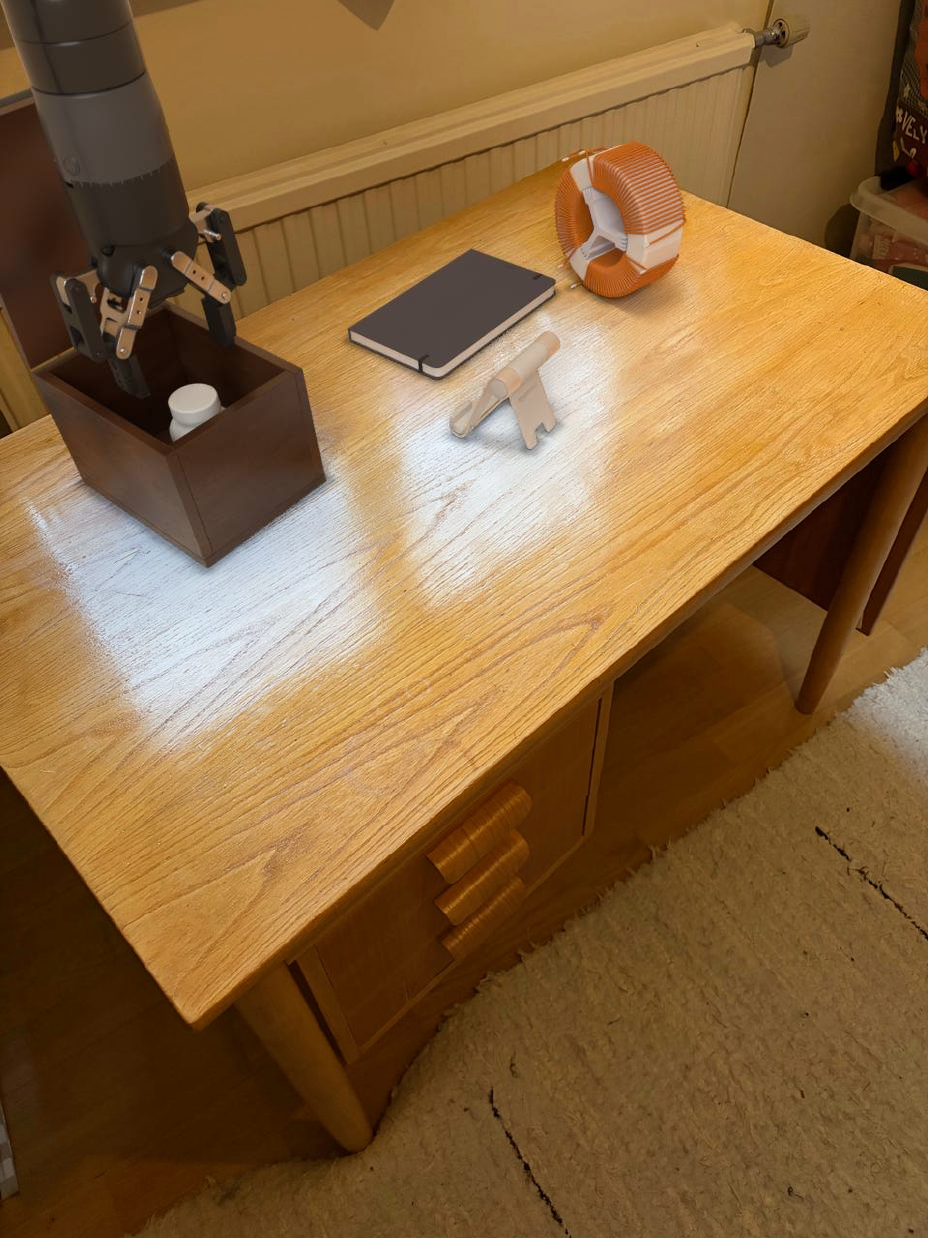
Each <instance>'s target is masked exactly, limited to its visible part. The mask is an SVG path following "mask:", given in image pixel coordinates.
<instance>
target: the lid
mask: <svg viewBox="0 0 928 1238" xmlns="http://www.w3.org/2000/svg"><path fill="white" fill-rule="evenodd" d="M88 257H89V255H88V248H87V245H86V243H85V241H84V239H83V237H82V235H81V233H80V231H79V228H78V226H77V223H76V220H75V218H74V215H73V212H72V210H71V207H70V204H69V201H68V199H67V196H66V193H65V191H64V188H63V185H62V183H61V180H60V177H59V174H58V172H57V169H56V166H55V163H54V161H53V158H52V155H51V153H50V150H49V148H48V145H47V142H46V140H45V137H44V134H43V131H42V128H41V125H40V122H39V118H38V114H37V109H36V105H35V101H34V97H33V93H32V90H31V87H27V88H24V89H20V90H19V91H16V92H13V93H11V94H7V95H5V96H1V97H0V307H1V309H2V311H3V313H4V316H5V319H6V321H7V324H8V326H9V328H10V331H11V334H12V337H13V338H14V342H15V344H16V346H17V348H18V351H19V354H20V356H21V359H22V361H23V364H24V365H25V366H26V367H27V368H28V369H30V370H33V369H35V368H36V367H38V366H40V365H42V364H44V363H46V362H49V361H50V360H51V359H53V358H55V357H57V356H59V355H62V354H63V353H65V352H66V351H69V350H71V349H72V348H74V347H73V345H72V342H71V339H70V336H69V333H68V330H67V328H66V325H65V322H64V319H63V316H62V313H61V310H60V308H59V305H58V302H57V299H56V296H55V293H54V290H53V288H52V285H51V282H50V277H51V275H52V273H53V272H54V271H57V270H60V271H63V272H65V273H67V274H68V273H71V272H74V271H76V270H79V269H81V268H84V267H86V266H88ZM104 288H105V287H104V286H103V285H101V284H100V283H98V284H97V286H96V288H95V297H96V298H97V301H96V302H95V303H92V305H93V308H94V311H95V314H96V317H97V320H98V323H99V327H100V324H101V320H102V314H101V312H100V305H101V300H102V296H103V292H104ZM127 306H128V302H127V301H125V300H124V299H122V300H121V307H122V309H123V310H125V311H126V309H127Z"/></svg>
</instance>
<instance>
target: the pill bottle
mask: <svg viewBox="0 0 928 1238" xmlns="http://www.w3.org/2000/svg"><path fill="white" fill-rule="evenodd" d="M168 403H169V407H170V410H171V413H172V416H173V420H172V422H171V424H170V435H171V438H172V441H173V442H174V441H176V440H177V439H179V438H180V437H182V436H183V435H185V434H187V433H188V432H190V431H191V430H193V429H194V428H196V427H198V426H199V425H201V424H202V423H204V422H205V421H207V420H209V419H210V418H212V417H213V416H215V415H216V414H218V413H220V412H221V411H223V410H224V409H226V408H224V407H222V406H221V403H220V400H219V397H218V394H217V392H216V390H215V389H214V388H213V387H211V386H209V385H206V384H190V385H187V386H184V387H181V388H179V389H178V390H176V391H175V392H174V393H173V394H172V395H171V396H170V398H169V402H168Z"/></svg>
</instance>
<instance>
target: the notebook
mask: <svg viewBox="0 0 928 1238" xmlns="http://www.w3.org/2000/svg"><path fill="white" fill-rule="evenodd" d="M556 284H557V280H556V279H555V278H553V277H551V276H548V275H546V274H544V273H541V272H537V271H534V270H532V269H529V268H526V267H524V266H521V265H518V264H515V263H512V262H509V261H507V260H505V259H501V258H498V257H496V256H493V255H491V254H487V253H485V252H483V251H479V250H477V249H473V248H470V249H468V250H467V251H465V252H464V253H462V254H461V255H458V256H457V257H456V258H454V259H453V260H451V261H449V262H448V263H446V264H445V265H443V266H442V267H440V268H439V269H437V270H435V271H434V272H433V273H431V274H430V275H428V276H426V277H425V278H423V279H422V280H420V281H419V282H417V283H416V284H414V285H413V286H411V287H409V288H408V289H407V290H405V291H403V292H402V293H400V294H399V295H397V296H396V297H394V298H392V299H391V300H389V301H388V302H386V303H385V304H383V305H381V306H380V307H378V308H377V309H375V310H374V311H373V312H371V313H369V314H367V316H365V317H363V318H361V319H360V320H358V321H357V322H355V323H354V324H352V325H351V326H349V327H348V328H347V331H348V332H347V333H348V339H349V342H350V343H353V344H355V345H357V346H360V347H362V348H364V349H365V350H366V349H367V350H368V351H371V352H373V353H376V354H378V355H379V356H382V357H384V358H387V359H389V360H390V361H393V362H395V363H398V364H400V365H402V366H404V367H406V368H408V369H411V370H413V371H415V372H417V373H419V374H421V375H424V376H425V377H428V378H430V379H433V380H442V379H444V378H446V377H447V376H448V375H449V374H451V373H452V372H454V371H455V370H456V369H457V368H459V367H460V366H461V365H463V364H465V363H466V362H467V361H468V360H470V359H471V358H472V357H475V355H477V354H478V353H479V352H480V351H482V350H483V349H485V348H486V347H487V346H488V345H490V344H491V343H493V342H494V341H495V340H497V339H498V338H499V337H501V336H502V335H504V334H505V333H506V332H507V331H509V330H510V329H512V328H513V327H514V326H515V325H517V324H518V323H519V322H521V321H522V320H523V319H525V318H526V317H527V316H529V315H531V314H532V313H533V312H534V311H535V310H537V309H538V308H540V307H541V306H542V305H544V304H545V303H546V302H548V301H549V300H550V299H552V298H553V297H554V296H555V295H556V291H555V285H556Z"/></svg>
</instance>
